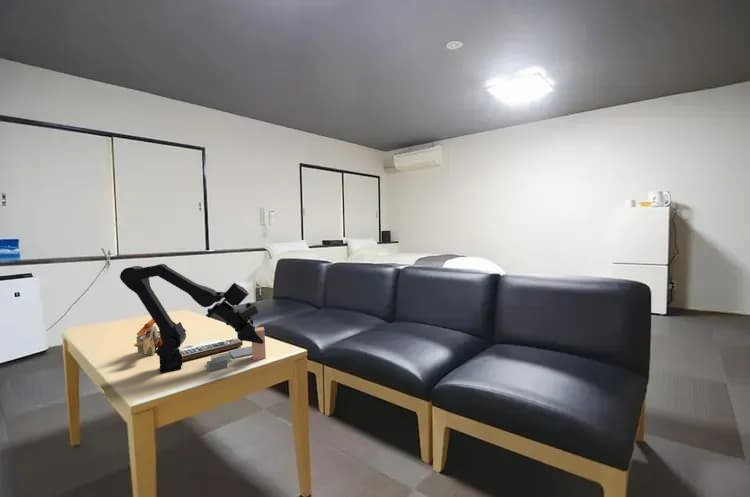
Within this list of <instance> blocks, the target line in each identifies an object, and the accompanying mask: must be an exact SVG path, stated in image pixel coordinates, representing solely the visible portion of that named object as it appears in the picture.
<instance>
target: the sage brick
mask: <svg viewBox="0 0 750 497" xmlns="http://www.w3.org/2000/svg"><path fill="white" fill-rule="evenodd" d="M224 357H225V358H226V359H227V364H228V363H231V362H232V359H231V358H232V357H231V355H230V353H229V352H225V353H219V354H215V355H211V356H210V361H212V360H216V359H220V358H224Z"/></svg>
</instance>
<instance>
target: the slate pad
mask: <svg viewBox="0 0 750 497" xmlns="http://www.w3.org/2000/svg"><path fill="white" fill-rule="evenodd" d="M228 353H229V354H230V357H231V358H232V359H233V360H234V359H238V358H244V357H248V356H252V345H250V346H245V347H241V348H235V349H232V350H228Z"/></svg>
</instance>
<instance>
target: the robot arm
mask: <svg viewBox="0 0 750 497" xmlns="http://www.w3.org/2000/svg"><path fill="white" fill-rule="evenodd" d="M155 277H159V278H160V279H162V280H164V281H165V282H168V283H169V284H170V285H172V286H175V287H177V288H178V289H179V290H180V291H183V292H185V293H187V294H188V295H189V296H190V297H191V298H192V300H193V301H195V303H197V304H198V305H199V306H201V307H203V308H207V311H206V312H207V318H209V319H210V318H211V317H212V316H213V315H215V316H217V317H218V318H219V319H220V320H221V321H223V322H224V323H225V325H226V326H230V327H231V328H232V329H234V332H236V334H237V335H236V336H237V340H239V341H241V342H250V343H252V342H254V343H259V344H263V343H264V341H263V340H262V339H261V338H260V337H259V335H258V334H257V333H256V332H255V328H256V326H255V325H254V319H253V316H255V315H257V314H259V313H260V310H259V309H258V307H257V305H256V303H255V302H254V303H251V302H246V303H245V307H244V308H243V309H241V310H240V309H238V308H237V309H236V308H235V307H234V306H239V305H240V304H241V303H242V302H243V301H244V300H245V299H246V298H247V297H248V296H249V295H250V294H249V291H247V289H245V288H244V287H243V286H241V285H240V284H237V283H236V282H233V283H232V284H231V285H230V287H229V288H228V289H227V290H226V291H224V292H223V291H216V290H215V289H214V288H211V287H208V286H205V285H202V284H199V283H196V282H194V281H193V280H191V279H190V278H187V277H186V276H184V275H182V274H181V273H179V272H177V271H176V270H174V269H172V268H171V267H169V266H168V265H167V264H166V263H159V264H156V265H150V266H144V267H143V266H140V265H134V266H129V267H126V268H124V269H123V270H121V271H120V275H119V279H120V281H121V282H122V283H123V284H124V285H125V287H127V288H128V289H129V290H130V291H132V292H133V293H135V294H136V295H137V297H138V298H139V300H140V301H141V303H142V304H143V306H144V307H145V309H146V311H147V312H148V314H149V316H150V317H151V318H152V319H153V320H154V321H155V323H154V324H156V326H157V327H158V329H159V330H158V331H159V337H160V338H161V340H162V343H163V344H162V345H161V346H160V347H159V348H157V349H156V351H155V353H156V355H157V356H158V357H159V374H163V373H167V372H169V373H170V372H172V371H177V370H182V366H183V354H182V352H181V350H180V348H181V345H182V344H183V343H184V342H185V340H186V339H187V330H186V329H185V328H184V327H183V325H182V322H181V321H179V322H178V323H176V322H174V321H173V319H171V317H170V315H169V314H168V313H167V311H166V308H164V306H163V305H162V303H161V301H160V300H159V298H158V296H157V294H156V293H155V291H154V290H153V289H152V287H151V283H150V278H155ZM220 301H221V302H220ZM211 306H213V307H211ZM210 307H211V308H210ZM160 338H159V339H160Z"/></svg>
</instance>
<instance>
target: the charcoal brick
mask: <svg viewBox="0 0 750 497" xmlns="http://www.w3.org/2000/svg"><path fill="white" fill-rule="evenodd" d="M226 368H228V363H227V359H226V358H225V357H224V358H220V359H216V360H212V361H211V360H209V361H206V370H207V372H209V373H211V372H215V371H220V370H222V369H226Z"/></svg>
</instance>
